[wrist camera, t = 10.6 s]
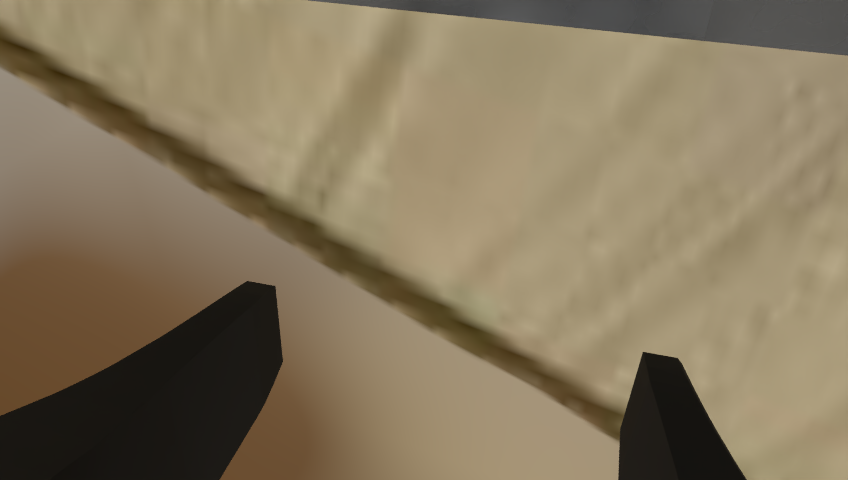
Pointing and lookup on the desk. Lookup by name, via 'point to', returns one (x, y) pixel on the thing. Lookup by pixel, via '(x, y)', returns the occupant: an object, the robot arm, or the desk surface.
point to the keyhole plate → (666, 18)
